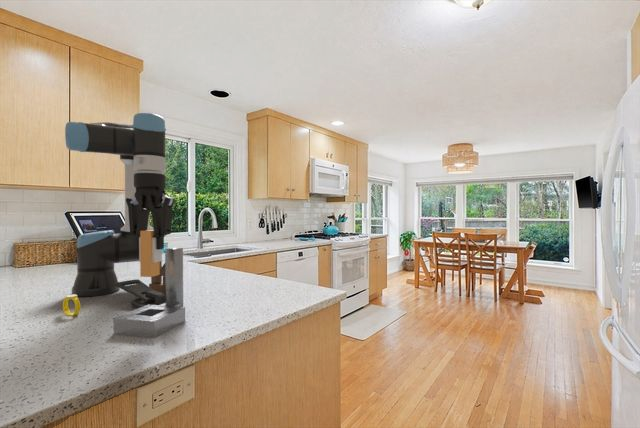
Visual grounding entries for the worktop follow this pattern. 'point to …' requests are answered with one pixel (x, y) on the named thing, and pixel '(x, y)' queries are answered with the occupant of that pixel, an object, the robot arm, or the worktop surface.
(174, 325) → the grey l-shaped piece
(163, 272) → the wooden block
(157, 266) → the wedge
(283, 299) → the worktop surface
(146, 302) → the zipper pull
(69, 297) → the watch
